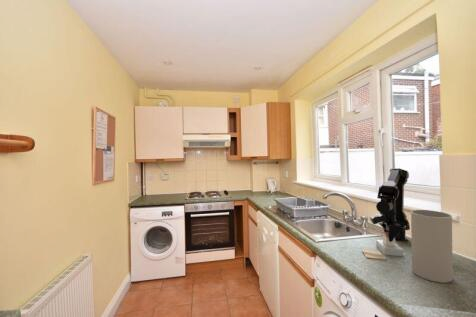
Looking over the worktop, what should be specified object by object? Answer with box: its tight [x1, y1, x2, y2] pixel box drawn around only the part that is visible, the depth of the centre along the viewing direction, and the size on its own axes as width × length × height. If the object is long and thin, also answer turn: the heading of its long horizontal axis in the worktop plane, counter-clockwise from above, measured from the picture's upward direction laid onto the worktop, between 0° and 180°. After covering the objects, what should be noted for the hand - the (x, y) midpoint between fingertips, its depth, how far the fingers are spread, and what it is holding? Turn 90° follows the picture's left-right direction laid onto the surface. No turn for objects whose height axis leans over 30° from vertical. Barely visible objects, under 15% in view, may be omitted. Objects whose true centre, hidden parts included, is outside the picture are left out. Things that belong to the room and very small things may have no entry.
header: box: [375, 239, 404, 257], centre depth 116 cm, size 12×8×3 cm, turn 166°
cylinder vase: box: [410, 209, 454, 284], centre depth 91 cm, size 12×12×25 cm
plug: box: [382, 231, 396, 247], centre depth 115 cm, size 4×4×8 cm
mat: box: [361, 250, 387, 261], centre depth 110 cm, size 8×8×1 cm
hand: (389, 240), depth 115 cm, fingers closed on plug, 4 cm apart
